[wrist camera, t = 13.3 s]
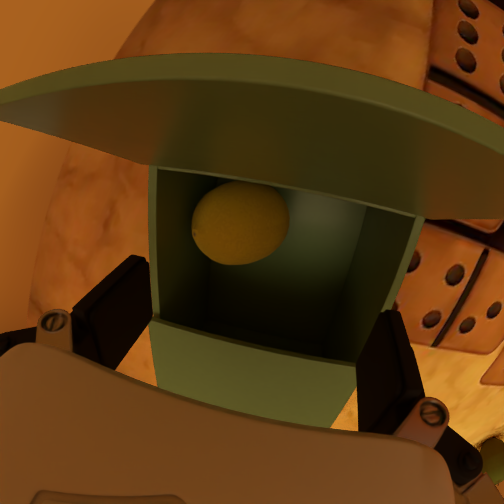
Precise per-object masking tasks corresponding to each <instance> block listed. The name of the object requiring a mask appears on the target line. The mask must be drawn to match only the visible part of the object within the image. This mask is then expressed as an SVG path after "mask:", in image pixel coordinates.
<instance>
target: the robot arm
mask: <svg viewBox="0 0 504 504" xmlns="http://www.w3.org/2000/svg"><path fill="white" fill-rule="evenodd" d="M72 309H73V311H72V312H71V313H70V314H69V313H68V312H67V311H65V310H62V309H53V310H50V311H48V312H46V313H44V314H43V315H42V316H41V317H40V318H39V320H38V323H37V327H32V328H27V329H21V330H16V331H10V332H5V333H2V334H0V504H504V498H503V497H502V495H501V494H500V492H499V490H498V489H497V487H496V486H495V484H494V483H493V481H492V480H491V478H490V477H489V475H488V474H487V472H485V473H484V474H483V473H482V468H483V459H482V456H481V454H480V452H479V451H478V450H477V449H476V448H475V447H473V446H472V445H471V444H470V443H469V442H467V441H466V440H465V439H464V438H462V437H461V436H460V435H459V434H458V433H456V432H455V431H454V430H453V429H451V428H450V427H449V426H448V422H449V412H448V409H447V407H446V406H445V404H444V403H442V402H441V401H440V400H438V399H436V398H433V397H425V393H424V389H423V384H422V380H421V377H420V373H419V369H418V365H417V362H416V358H415V354H414V351H413V349H412V347H411V346H410V342H409V339H408V335H407V332H406V329H405V326H404V323H403V320H402V316H401V313H400V312H399V311H394V310H388V309H386V310H385V311H384V312H380V313H379V315H378V317H377V320H376V322H375V324H374V326H373V328H372V330H371V333H370V335H369V337H368V339H367V341H366V343H365V345H364V347H363V349H362V351H361V353H360V355H359V357H358V359H357V362H356V382H357V402H358V431H348V430H340V429H332V428H325V427H317V426H310V425H304V424H297V423H292V422H286V421H281V420H275V419H270V418H265V417H261V416H256V415H252V414H247V413H243V412H239V411H235V410H231V409H227V408H223V407H219V406H216V405H212V404H209V403H205V402H202V401H198V400H195V399H192V398H189V397H185V396H182V395H179V394H176V393H173V392H170V391H167V390H164V389H161V388H158V387H156V386H153V385H150V384H147V383H145V382H142V381H140V380H137V379H134V378H132V377H129V376H127V375H124V374H122V373H120V372H117V371H115V369H116V368H117V367H118V365H119V364H120V362H121V361H122V360H123V358H124V357H125V355H126V354H127V353H128V351H129V350H130V348H131V347H132V346H133V344H134V343H135V342H136V340H137V339H138V337H139V336H140V335H141V333H142V332H143V331H144V329H145V328H146V327H147V325H148V324H149V323H150V321H151V319H152V316H153V309H152V297H151V284H150V269H149V263H148V262H146V259H145V258H144V257H141V256H137V255H130V256H129V257H128V258H127V259H126V260H125V261H123V262H122V263H121V264H120V265H119V266H118V267H116V268H115V269H114V270H113V271H112V272H111V273H110V274H109V275H107V276H106V277H105V278H104V279H103V280H102V281H101V282H100V283H99V284H97V285H96V286H95V287H94V288H93V289H92V290H91V291H90V292H89V293H88V294H87V295H85V296H84V297H83V298H82V299H81V300H80V301H79V302H78V303H77V304H76V305H75V306H74V307H73V308H72Z"/></svg>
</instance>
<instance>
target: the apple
mask: <svg viewBox="0 0 504 504" xmlns="http://www.w3.org/2000/svg"><path fill="white" fill-rule="evenodd" d="M480 454H481V456H482V459H483V468H482V473H483V474H484V473H485V472H487V474H488V475H489V477H490V478H491V480H492V481H493V483H494V484H495V485H496V484H499V483H500V482H501V481H503V480H504V442H503V441H502V440H499V439H496V438H491V439H489V440H487V441H486V442H484V443H483V445H482V448H481V450H480Z"/></svg>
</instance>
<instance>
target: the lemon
mask: <svg viewBox="0 0 504 504" xmlns="http://www.w3.org/2000/svg"><path fill="white" fill-rule="evenodd" d="M289 221H290V216H289V210H288V207H287V204H286V202H285V201H284V199H283V197H282V196H281V195H280V194H279V193H278V192H277V191H276V190H275V189H274V188H273V187H271V186H269V185H264V184H258V183H253V182H247V181H240V180H238V181H231V182H228V183H225V184H222V185H220V186H218V187H216V188H215V189H213V190H211V191H209V192H208V193H207V194H205V195H204V196H203V198H202V199H201V200H200V201H199V202H198V204H197V206H196V208H195V210H194V212H193V216H192V225H191V228H192V236H193V238H194V240H195V243H196V244H197V246H198V248H199V249H200V250H201V251H202V252H203V253H204V254H205V255H206V256H207V257H209V258H210V259H212V260H213V261H216V262H218V263H221V264H226V265H242V264H248V263H252V262H255V261H258V260H260V259H263V258H265V257H267V256H268V255H270V254H271V253H272V252H274V251H275V250H276V249H277V248H278V247H279V246H280V245H281V244H282V242H283V240H284V239H285V237H286V235H287V232H288V229H289Z"/></svg>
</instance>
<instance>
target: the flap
mask: <svg viewBox="0 0 504 504" xmlns="http://www.w3.org/2000/svg"><path fill="white" fill-rule="evenodd" d="M0 121H3V122H7V123H11V124H14V125H18V126H22V127H25V128H29V129H32V130H36V131H39V132H43V133H46V134H49V135H53V136H56V137H59V138H63V139H66V140H69V141H72V142H76V143H79V144H82V145H85V146H88V147H91V148H94V149H98V150H101V151H104V152H107V153H110V154H113V155H116V156H119V157H122V158H125V159H128V160H131V161H134V162H136V163H139V164H143V165H153V166H163V167H172V168H180V169H188V170H196V171H203V172H211V173H218V174H225V175H231V176H238V177H244V178H250V179H256V180H262V181H268V182H273V183H279V184H284V185H289V186H295V187H300V188H305V189H310V190H315V191H319V192H324V193H329V194H333V195H338V196H342V197H347V198H351V199H355V200H360V201H364V202H368V203H372V204H376V205H380V206H384V207H388V208H392V209H396V210H399V211H403V212H407V213H411V214H414V215H418V216H421V217H425V218H428V219H504V128H503V127H501V126H499V125H497V124H496V123H494V122H492V121H490V120H488V119H486V118H484V117H482V116H480V115H478V114H476V113H474V112H472V111H470V110H468V109H465V108H463V107H461V106H459V105H457V104H454V103H452V102H450V101H447V100H445V99H442V98H440V97H437V96H435V95H432V94H430V93H427V92H424V91H422V90H419V89H416V88H413V87H410V86H407V85H404V84H401V83H398V82H395V81H392V80H388V79H385V78H382V77H378V76H374V75H371V74H367V73H363V72H359V71H355V70H351V69H346V68H342V67H337V66H332V65H327V64H322V63H316V62H310V61H304V60H297V59H290V58H282V57H273V56H263V55H250V54H233V53H178V54H161V55H149V56H139V57H130V58H122V59H115V60H109V61H103V62H97V63H92V64H87V65H82V66H77V67H72V68H68V69H64V70H60V71H56V72H52V73H49V74H45V75H42V76H38V77H35V78H32V79H29V80H26V81H22V82H19V83H16V84H14V85H11V86H8V87H5V88H3V89H0Z"/></svg>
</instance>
